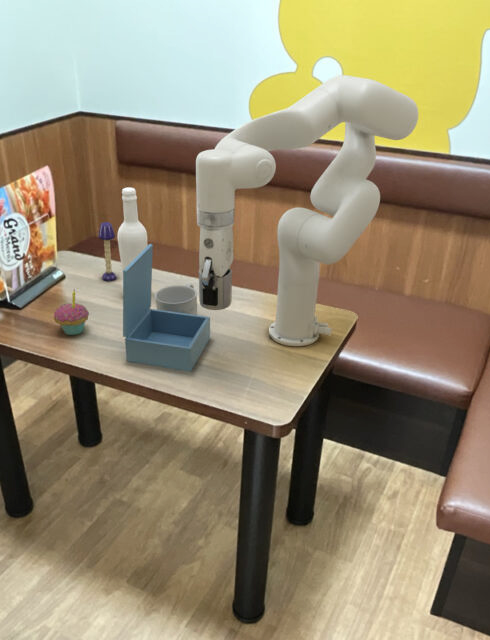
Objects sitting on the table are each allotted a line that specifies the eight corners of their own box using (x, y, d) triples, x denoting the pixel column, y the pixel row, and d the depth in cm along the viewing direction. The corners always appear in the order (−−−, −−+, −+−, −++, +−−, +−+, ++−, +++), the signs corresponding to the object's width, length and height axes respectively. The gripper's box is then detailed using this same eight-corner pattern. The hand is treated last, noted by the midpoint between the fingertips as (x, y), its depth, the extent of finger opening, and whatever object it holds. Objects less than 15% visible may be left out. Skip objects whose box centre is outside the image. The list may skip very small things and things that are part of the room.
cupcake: (97, 326, 156) (91, 284, 149) (77, 342, 149) (71, 298, 143) (69, 320, 159) (63, 277, 152) (49, 334, 152) (41, 291, 146)
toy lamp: (111, 273, 183) (106, 219, 174) (121, 277, 181) (117, 223, 171) (99, 278, 180) (93, 224, 171) (110, 283, 178) (104, 227, 168)
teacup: (179, 335, 152) (178, 306, 148) (147, 322, 158) (145, 294, 153) (212, 314, 161) (213, 286, 157) (181, 303, 167) (180, 276, 162)
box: (210, 341, 150) (210, 316, 146) (190, 374, 137) (190, 348, 134) (150, 332, 153) (149, 308, 150) (126, 364, 141) (124, 338, 137)
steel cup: (234, 298, 134) (235, 266, 130) (226, 312, 128) (226, 279, 124) (205, 294, 135) (204, 262, 131) (195, 307, 130) (195, 275, 126)
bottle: (149, 302, 167) (143, 193, 150) (120, 302, 167) (110, 193, 150) (152, 290, 174) (146, 184, 157) (124, 289, 174) (115, 184, 157)
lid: (152, 244, 140) (149, 243, 140) (126, 270, 127) (122, 270, 128) (150, 307, 149) (147, 306, 149) (126, 337, 137) (122, 336, 137)
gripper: (221, 233, 113) (221, 317, 123) (244, 204, 127) (242, 282, 137) (183, 229, 115) (186, 312, 125) (210, 201, 129) (210, 278, 139)
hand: (215, 296), depth 131 cm, fingers closed on steel cup, 6 cm apart
